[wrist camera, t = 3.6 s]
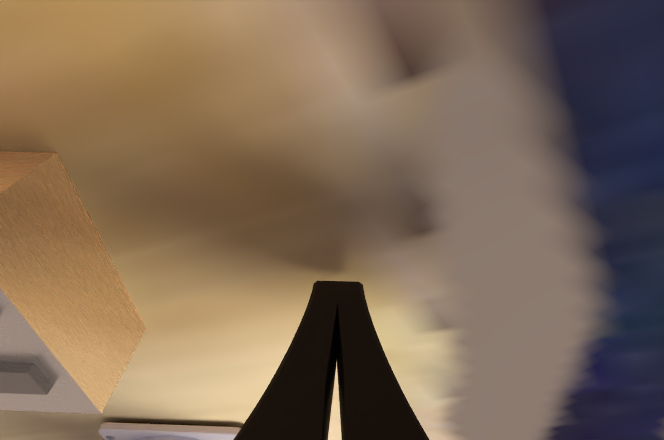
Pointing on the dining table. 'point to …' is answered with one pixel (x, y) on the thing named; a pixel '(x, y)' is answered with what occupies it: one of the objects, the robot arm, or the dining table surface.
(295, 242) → the dining table surface
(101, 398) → the block with grey stripes
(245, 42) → the dining table surface
